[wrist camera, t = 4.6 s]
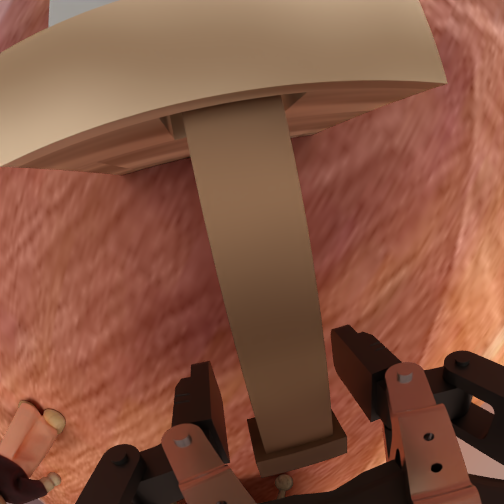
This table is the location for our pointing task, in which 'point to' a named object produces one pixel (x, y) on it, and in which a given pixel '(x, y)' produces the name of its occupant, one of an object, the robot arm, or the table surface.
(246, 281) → the bar
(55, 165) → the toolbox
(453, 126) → the table surface
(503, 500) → the robot arm
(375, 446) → the table surface
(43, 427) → the grandmother figurine
